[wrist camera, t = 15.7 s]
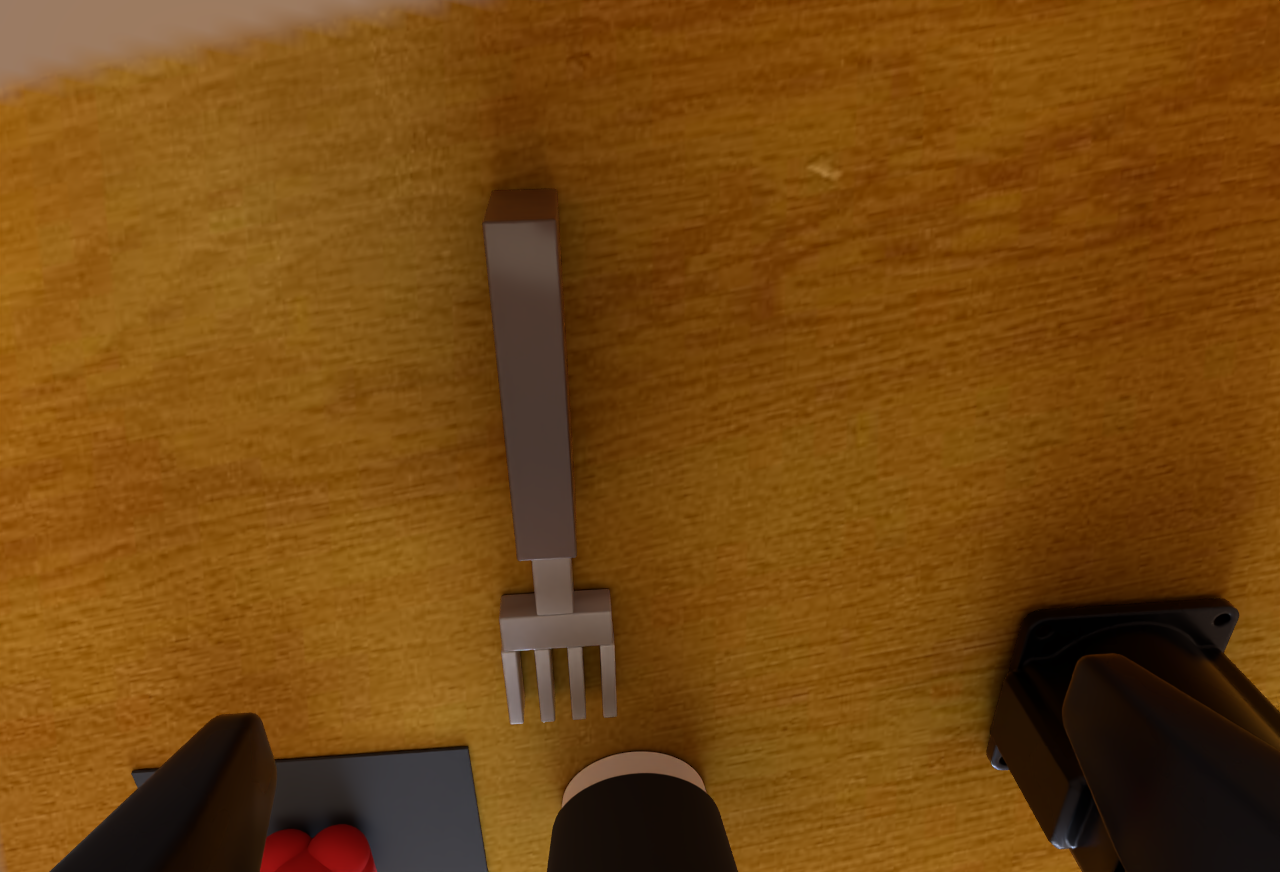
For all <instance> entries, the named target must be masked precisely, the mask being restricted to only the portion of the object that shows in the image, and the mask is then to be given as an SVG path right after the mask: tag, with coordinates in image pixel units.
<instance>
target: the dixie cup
mask: <svg viewBox="0 0 1280 872" xmlns="http://www.w3.org/2000/svg"><path fill="white" fill-rule="evenodd" d="M547 872H738V870H737V867H736V864H735V861H734V857H733V854H732V851H731V848H730V845H729V841H728V838H727V835H726V832H725V829H724V825H723V822H722V819H721V816H720V812H719V810H718V808H717V806H716V804H715V802H714V801H713V799H712V798H711V797H710V796H709V795H708V794H707V792H706V789H705V786H704V783H703V781H702V779H701V777H700V776H699V774H698V773H697V772H696V771H695V770H694V769H693V768H692V767H691V766H689V765H688V764H687V763H685V762H683V761H681V760H679V759H677V758H675V757H672V756H669V755H666V754H661V753H655V752H627V753H621V754H616V755H612V756H609V757H606V758H603V759H601V760H599V761H596V762H594V763H592V764H591V765H589V766H587V767H586V768H584V769H583V770H582V771H580V772H579V773H578V774H577V775H576V776H575V777H574V778H573V779H572V780H571V782H570V783H569V785H568V786H567V788H566V790H565V793H564V796H563V802H562V809H561V810H560V812H559V813H558V815H557V817H556V819H555V822H554V825H553V829H552V836H551V844H550V852H549V860H548V868H547Z"/></svg>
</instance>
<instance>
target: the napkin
mask: <svg viewBox="0 0 1280 872" xmlns="http://www.w3.org/2000/svg"><path fill="white" fill-rule="evenodd" d="M275 764H276V769H277V783H276V790H275V795H274V801H273V806H272V811H271V816H270V821H269V827H268V832H267V837H268V836H270V835H271V834H273V833H275V832H277V831H280V830H284V829H297V830H301V831H303V832H305V833H307V834H308V835H309V836H310V837H311V838H312V839H313V838H314V837H315V836H316V835H317V834H318V833H319V832H320V831H322V830H323V829H325V828H327V827H330V826H333V825H337V824H346V825H350V826H353V827H355V828H357V829H358V830H360V831H361V832H362V833H363V834H364V836H365V837H366V839H367V841H368V843H369V846H370V849H371V853H372V856H373V859H374V863H375V866H376V870H377V872H488V870H487V864H486V857H485V851H484V845H483V838H482V832H481V826H480V820H479V813H478V807H477V801H476V794H475V788H474V782H473V776H472V769H471V763H470V757H469V750H468V747H455V748H441V749H427V750H413V751H399V752H386V753H372V754H358V755H344V756H330V757H316V758H302V759H288V760H275ZM157 770H158V769H150V770H136V771H132V773H131V774H132V776H133V778H134V780H135V783H136V785H137V787H138V788H139V787H140V786H141V785H142V784H143V783H144V782H145V781H146V780H147V779H148V778H150V777H151V776H152V775H153V774H154V773H155V772H156V771H157ZM267 837H266V838H267Z"/></svg>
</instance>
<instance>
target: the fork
mask: <svg viewBox="0 0 1280 872" xmlns="http://www.w3.org/2000/svg"><path fill="white" fill-rule="evenodd" d="M482 225H483V235H484V245H485V254H486V264H487V274H488V283H489V293H490V302H491V312H492V322H493V331H494V341H495V351H496V360H497V370H498V380H499V389H500V399H501V408H502V418H503V428H504V437H505V447H506V457H507V466H508V476H509V485H510V495H511V505H512V514H513V524H514V534H515V543H516V553H517V559H518V561H525V560H532V570H533V581H534V592H535V593H532V594H516V595H503V596H502V597H501V605H500V615H499V622H500V630H501V639H502V651H501V654H502V662H503V670H504V678H505V687H506V695H507V703H508V711H509V719H510V724H522V723H523V722H524V708H525V693H524V684H523V675H522V666H521V657H520V651H522V650H534V652H535V662H536V672H537V682H538V692H539V703H540V713H541V721H542V722H550V721H555V687H554V675H553V663H552V652H551V649H552V648H567V651H568V665H569V679H570V693H571V706H572V718H573V720H578V719H586V698H585V680H584V663H583V647H582V646H597V645H600V660H601V681H602V701H603V716H604V717H605V718H606V717H616V716H617V699H616V672H615V645H614V632H613V623H612V612H611V599H610V590H609V589H597V590H581V591H574V588H573V573H572V558H575V557H576V556H577V536H576V499H575V482H574V465H573V448H572V432H571V415H570V398H569V381H568V364H567V347H566V330H565V313H564V297H563V280H562V263H561V246H560V229H559V212H558V195H557V189H555V188H554V189H523V190H493V191H492V192H491V196H490V199H489V203H488V206H487V209H486V213H485V216H484V220H483V223H482Z"/></svg>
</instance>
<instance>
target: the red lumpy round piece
mask: <svg viewBox="0 0 1280 872" xmlns="http://www.w3.org/2000/svg"><path fill="white" fill-rule="evenodd" d="M260 872H377V870H376V866H375V863H374V859H373V856H372V853H371V849H370V846H369V843H368V841H367V839H366V837H365V836H364V834H363V833H362V832H361V831H360V830H358V829H357V828H355V827H353V826H350V825H346V824H337V825H333V826H330V827H327V828H325V829H323V830H322V831H320V832H319V833H318V834H317V835H316V836H315V837H314V838H313V839H312V838H311V837H310V836H309V835H308V834H307V833H305V832H303V831H301V830H297V829H284V830H280V831H277V832H275V833H273V834H271V835H270V836H268V837H267V838H266V842H265V847H264V852H263V858H262V863H261V868H260Z"/></svg>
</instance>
